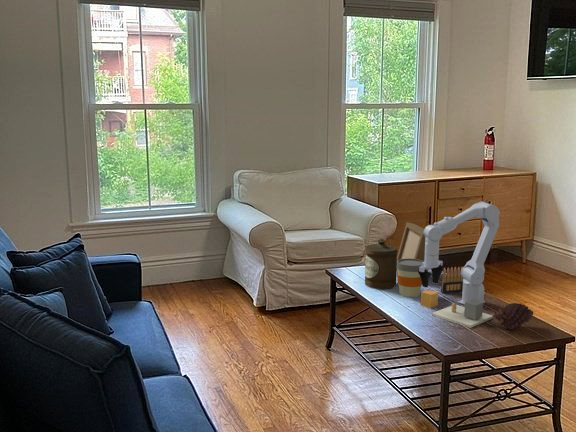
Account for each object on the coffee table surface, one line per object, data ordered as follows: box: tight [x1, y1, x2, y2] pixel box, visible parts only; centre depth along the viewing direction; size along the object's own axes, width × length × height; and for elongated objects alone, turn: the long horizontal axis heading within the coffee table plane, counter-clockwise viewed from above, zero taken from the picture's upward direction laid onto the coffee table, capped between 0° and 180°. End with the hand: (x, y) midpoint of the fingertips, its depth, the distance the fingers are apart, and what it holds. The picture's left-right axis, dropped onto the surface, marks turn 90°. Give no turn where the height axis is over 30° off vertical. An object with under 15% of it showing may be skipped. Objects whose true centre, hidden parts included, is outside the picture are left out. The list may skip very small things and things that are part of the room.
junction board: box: [431, 300, 494, 329], centre depth 247 cm, size 16×18×8 cm
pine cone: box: [492, 302, 534, 330], centre depth 235 cm, size 18×10×10 cm, turn 110°
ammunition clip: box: [440, 266, 464, 295], centre depth 278 cm, size 11×2×12 cm, turn 104°
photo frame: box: [397, 221, 425, 261], centre depth 302 cm, size 15×22×25 cm
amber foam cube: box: [420, 289, 439, 309], centre depth 261 cm, size 5×5×6 cm
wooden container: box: [364, 238, 398, 290], centre depth 288 cm, size 15×15×22 cm
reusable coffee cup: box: [396, 258, 424, 298], centre depth 275 cm, size 13×13×15 cm
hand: (430, 284), depth 259 cm, fingers open, 7 cm apart
